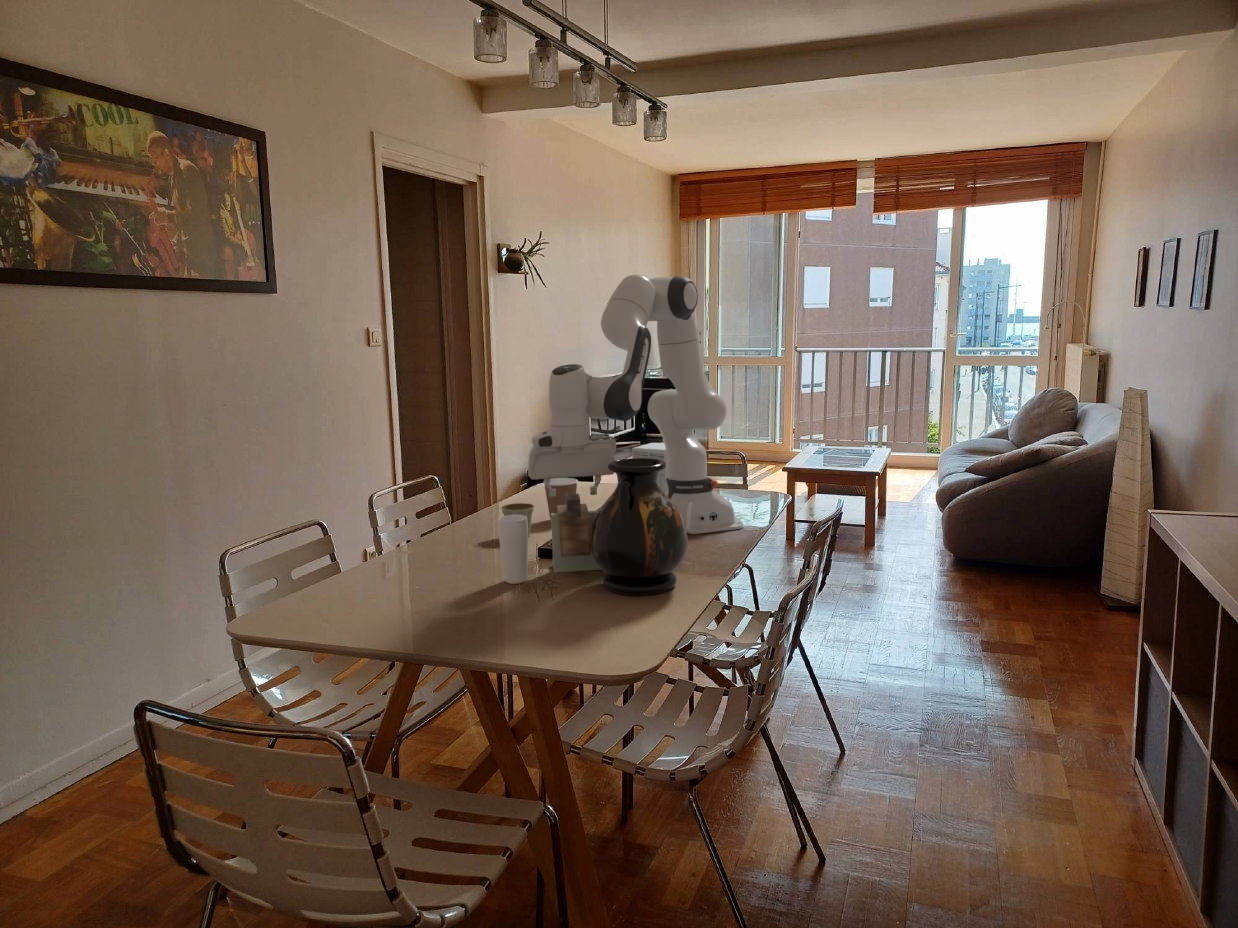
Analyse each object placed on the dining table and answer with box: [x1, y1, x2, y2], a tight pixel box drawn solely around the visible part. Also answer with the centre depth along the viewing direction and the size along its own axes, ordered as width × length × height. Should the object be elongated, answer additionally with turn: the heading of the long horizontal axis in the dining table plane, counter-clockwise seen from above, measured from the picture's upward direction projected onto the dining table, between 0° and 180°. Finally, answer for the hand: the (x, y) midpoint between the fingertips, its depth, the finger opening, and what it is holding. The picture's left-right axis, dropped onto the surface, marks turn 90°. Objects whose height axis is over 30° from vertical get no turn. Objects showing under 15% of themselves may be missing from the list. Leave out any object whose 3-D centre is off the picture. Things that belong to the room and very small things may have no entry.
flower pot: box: [500, 502, 536, 538], centre depth 237 cm, size 9×9×9 cm
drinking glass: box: [497, 515, 529, 585], centre depth 196 cm, size 7×7×15 cm
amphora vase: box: [591, 458, 689, 596], centre depth 188 cm, size 22×22×28 cm
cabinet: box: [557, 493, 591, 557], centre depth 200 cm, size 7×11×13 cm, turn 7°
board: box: [550, 510, 602, 573], centre depth 206 cm, size 16×6×14 cm, turn 97°
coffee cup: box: [542, 477, 579, 520], centre depth 255 cm, size 10×10×12 cm
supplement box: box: [631, 442, 668, 496], centre depth 283 cm, size 13×13×18 cm
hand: (573, 495), depth 198 cm, fingers open, 8 cm apart
